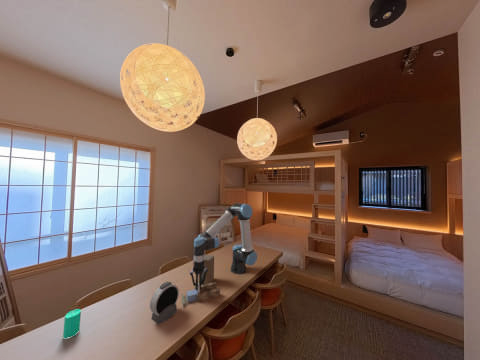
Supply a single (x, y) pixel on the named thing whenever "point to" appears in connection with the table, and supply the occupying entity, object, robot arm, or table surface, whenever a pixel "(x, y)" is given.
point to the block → (191, 295)
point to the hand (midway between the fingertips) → (198, 294)
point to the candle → (72, 323)
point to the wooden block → (209, 268)
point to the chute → (203, 293)
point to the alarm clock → (164, 302)
